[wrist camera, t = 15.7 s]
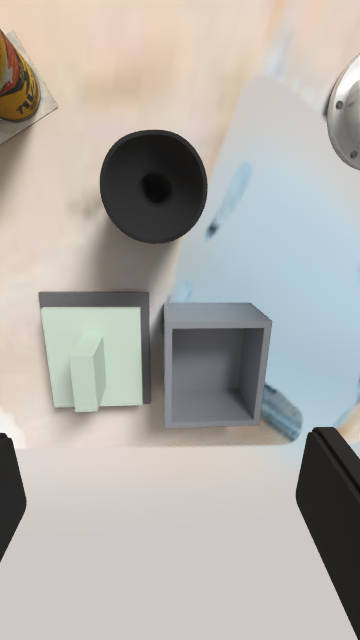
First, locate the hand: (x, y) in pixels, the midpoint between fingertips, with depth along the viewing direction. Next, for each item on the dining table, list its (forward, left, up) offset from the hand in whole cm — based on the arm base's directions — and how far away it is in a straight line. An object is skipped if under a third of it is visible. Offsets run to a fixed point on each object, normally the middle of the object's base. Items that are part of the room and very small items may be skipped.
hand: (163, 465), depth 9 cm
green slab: (+8, +10, -30) cm, 32 cm away
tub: (-7, +10, -30) cm, 32 cm away
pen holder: (0, -10, -30) cm, 32 cm away
